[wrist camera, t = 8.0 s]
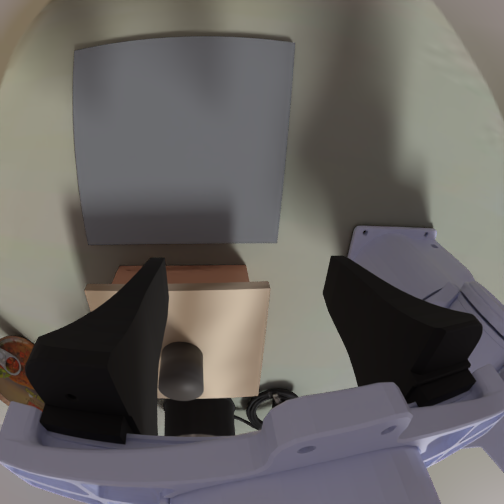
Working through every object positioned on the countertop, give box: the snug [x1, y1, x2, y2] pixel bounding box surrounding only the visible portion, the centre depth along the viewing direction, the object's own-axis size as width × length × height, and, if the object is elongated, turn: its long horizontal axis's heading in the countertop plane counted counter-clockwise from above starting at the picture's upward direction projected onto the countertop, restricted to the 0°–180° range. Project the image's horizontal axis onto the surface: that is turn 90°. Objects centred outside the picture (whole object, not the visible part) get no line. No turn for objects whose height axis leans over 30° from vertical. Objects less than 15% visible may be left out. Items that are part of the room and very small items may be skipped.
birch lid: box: [84, 281, 270, 401], centre depth 21 cm, size 12×12×4 cm
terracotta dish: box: [112, 265, 249, 284], centre depth 25 cm, size 10×10×4 cm
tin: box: [0, 336, 45, 412], centre depth 25 cm, size 15×3×8 cm, turn 36°
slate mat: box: [73, 36, 295, 245], centre depth 19 cm, size 15×15×1 cm
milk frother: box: [163, 389, 298, 437], centre depth 28 cm, size 14×16×15 cm
